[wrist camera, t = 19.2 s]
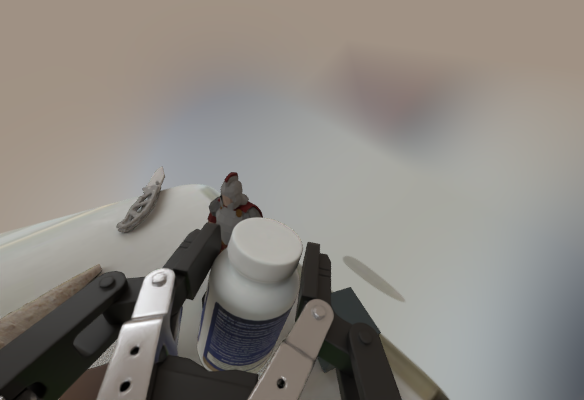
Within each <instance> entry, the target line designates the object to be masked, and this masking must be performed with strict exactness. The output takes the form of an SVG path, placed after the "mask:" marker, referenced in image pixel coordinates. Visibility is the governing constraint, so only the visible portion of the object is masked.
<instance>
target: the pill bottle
mask: <svg viewBox="0 0 584 400" xmlns="http://www.w3.org/2000/svg"><path fill="white" fill-rule="evenodd" d="M302 251H303V245H302V241H301V239H300V238H299V236H298V235H297V233H296V232H295V231H293V230H292V229H291V228H289V227H288V226H286V225H285V224H282V223H281V222H278V221H275V220H272V219H268V218H259V217H256V218H248V219H245V220H243V221H241V222H239V223H238V224H237V225H236V226H235V227H234V229H233V231H232V235H231V238H230V241H229V243H228V247H227V248H226V249H224V250H223V251H222V252H221V253H220V254H219V255H218V256H217V258H216V259H215V261H214V262H213V265H212V267H211V271H210V274H209V280H208V285H207V291H206V295H205V300H204V306H203V311H202V316H201V321H200V326H199V331H198V339H197V350H198V354H199V357H200V360H201V362H202V364H203V366H204V367H205V368H206V369H207V370H209V371H222V370H234V369H237V370H241V371H246V372H250V373H255V374H256V373H257V372H258V371H259V370H260V369H261V368H262V367H263V366H264V365H265V363H266V362H267V360H268V358H269V356H270V354H271V352H272V350H273V348H274V346H275V343H276V341H277V339H278V337H279V334H280V332H281V330H282V328H283V326H284V324H285V321H286V319H287V317H288V315H289V313H290V310H291V309H292V306H293V304H294V302H295V300H296V297H297V294H298V291H299V285H300V280H299V274H298V271H297V269H296V268H297V266H298V263H299V260H300V257H301V255H302Z"/></svg>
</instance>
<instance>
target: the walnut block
mask: <svg viewBox="0 0 584 400" xmlns="http://www.w3.org/2000/svg"><path fill="white" fill-rule="evenodd" d="M108 364H109V363H107V364H104V365H101V366H97V367H94V368H91V369H88V370H86V371H85V372H84V373H83V374H82V375H81V376H80V377H79V378H78V379H77V380H76V381H75V382H74V384H73V385H72V386H71V387H70V388H69V389H68V390H67V391H66V392H65V393H64V394H63V395H62V396H61V397H60V398H59V400H96V399H97V396H98V393H99V390H100V387H101V384H102V382H103V379H104V376H105V373H106V370H107V367H108Z"/></svg>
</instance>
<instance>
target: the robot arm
mask: <svg viewBox="0 0 584 400" xmlns="http://www.w3.org/2000/svg"><path fill="white" fill-rule="evenodd" d="M221 245H222V241H221V226H220V225H219V224H214V223H208V222H207V223H206V224H205V225H204V227H203V228H202V229H201V230H199V229H196V230H194V231H193V232H191V233H190V234H188V236H187V237H186V238H185V240H184V242H182V243H181V245H180V246H179V247H178V249H177V250H176V251H175V252H174V254H173V255H172V256H171V258H170V259H169V260H168V261H167V263H166V264H165V265H164V266H163V268H160V269H156V270H154V271H152V272H150V273H149V274H148V275H147V276H146V277H139V278H127V279H126V277H125V275H124V274H123V273H122V272H118V271H112V272H108V273H105V274H102V275H101V276H99V277H97V278H96V279H95V280H93V281H92V282H91V283H89V284H88V285H86V286H85V287H84V288H82V289H81V290H80V291H78V292H77V293H76V294H74V295H73V296H72V297H70V298H69V299H68V300H66V301H65V302H64V303H62V304H61V305H60V306H58V307H57V308H56V309H54V310H53V311H51V312H50V313H49V314H47V315H46V316H45V317H43V318H42V319H41V320H39V321H38V322H37V323H35V324H34V325H33V326H31V327H30V328H29V329H27V330H26V331H25V332H23V333H22V334H20V335H19V336H18V337H16V338H15V339H14V340H12V341H11V342H10V343H8V344H7V345H6V346H4V347H3V348H2V349H0V400H58V399H59V398H60V397H61V396H62V395H63V394H64V393H65V392H66V391H67V390H68V389H69V388H70V387H71V386H72V385H73V384H74V382H75V381H76V380H77V379H78V378H79V377H80V376H81V375H82V374H83V373H84V372H85V371H86V370H87V369H88V368H89V367H90V366H91V365H92V364H93V363H94V362H95V361H96V360H97V359H98V358H99V357H100V356H101V355H102V354H103V353H104V352H105V351H106V350H107V349H108V348H109V347H110V346H111V345H112V344H113V343H114V342H115V341H116V339H117V338H118V339H117V341H116V344H115V347H114V350H113V353H112V356H111V359H110V361H109V364H108V367H107V370H106V373H105V376H104V379H103V382H102V384H101V387H100V390H99V393H98V396H97V399H96V400H299V398H300V396H301V394H302V391H303V389H304V387H305V384H306V382H307V380H308V377H309V375H310V373H311V371H312V368H313V366H314V364H315V362H316V359H317V357H318V356H319V357H320V358H322V359H323V360H325V361H327V362H328V363H330V364H331V365H333V366H334V367H336V372H337V378H338V383H339V388H340V394H341V399H342V400H402V399H401V396H400V393H399V390H398V388H397V385H396V382H395V379H394V377H393V374H392V371H391V368H390V365H389V363H388V360H387V357H386V354H385V351H384V349H383V346H382V343H381V340H380V338H379V335H378V334H377V332H376V331H375V330H374V329H373V328H372V327H371V326H370V325H368V324H366V323H361V322H359V323H355V324H353V325H352V324H351V323H349V322H347V321H345V320H343V319H342V318H340V317H339V316H338V315H337V314H336V313H335V311H334V310H333V308H332V305H331V261H330V259H329V257H328V255H326V254H321V253H320V244H316V243H311V242H308V243H307V247H306V252H305V256H304V261H303V266H302V273H301V281H300V289H299V296H298V304H297V311H296V319H295V322H296V323H295V324H294V326H293V328H292V330H291V331H290V333H289V335H288V336H287V338H286V339H285V340H283V341H282V343H281V344H280V346H279V347H278V349H277V350H276V352H275V354H274V356H273V357H272V359H271V361H270V362H269V364H268V366H267V367H266V369H265V371H264V372H263V374H262V376H261V377H260V379H259V381H258V375H259V374H255V373H250V372H246V371H241V370H237V369H234V370H222V371H209V370H207V369H205V368H204V367H202V366H200V365H199V364H197V363H196V362H194V361H192V360H191V359H188V358H183V357H179V356H178V351H177V345H178V337H179V330H180V323H181V316H182V310H183V307H182V305H183V303H184V301H185V300H186V299H190V300H193V299H194V297H195V295H196V294H197V292H198V290H199V288H200V286H201V285H202V283H203V281H204V279H205V278H206V276H207V274H208V272H209V270H210V269H211V267H212V265H213V262H214V261H215V259H216V258H217V256H218V254H219V252H220V249H221ZM97 317H98V318H97ZM89 324H90V325H89Z"/></svg>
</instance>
